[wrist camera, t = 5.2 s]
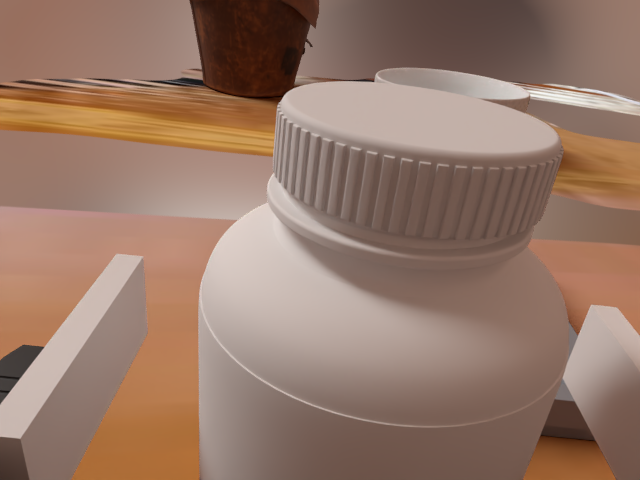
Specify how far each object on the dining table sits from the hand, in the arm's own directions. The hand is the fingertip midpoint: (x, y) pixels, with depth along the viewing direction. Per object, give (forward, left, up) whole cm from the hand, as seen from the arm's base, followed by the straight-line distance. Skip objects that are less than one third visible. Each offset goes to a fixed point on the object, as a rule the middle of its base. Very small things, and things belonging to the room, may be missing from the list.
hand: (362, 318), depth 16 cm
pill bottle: (0, -3, -8) cm, 9 cm away
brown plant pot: (-13, +65, -8) cm, 67 cm away
